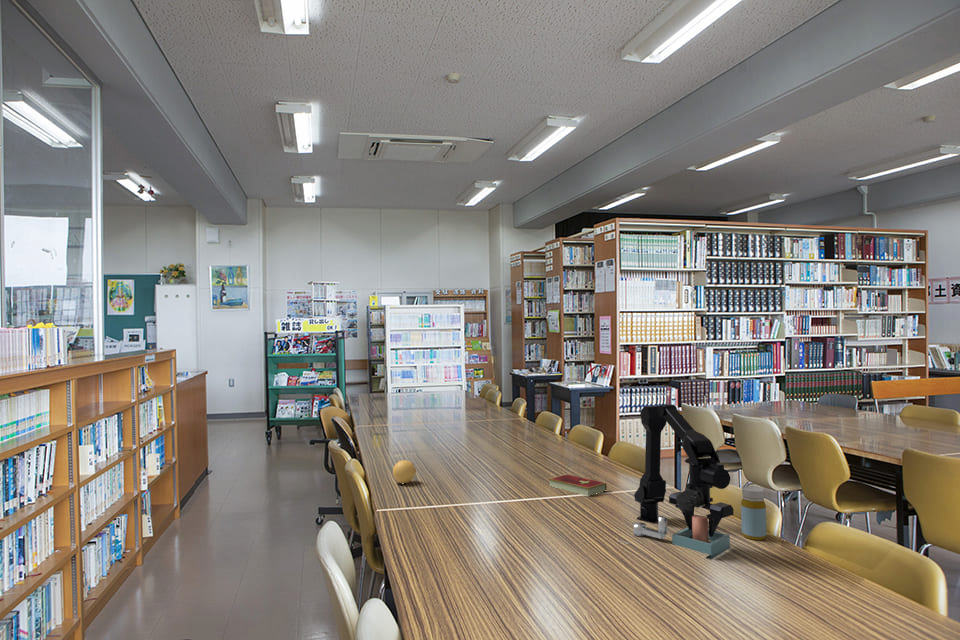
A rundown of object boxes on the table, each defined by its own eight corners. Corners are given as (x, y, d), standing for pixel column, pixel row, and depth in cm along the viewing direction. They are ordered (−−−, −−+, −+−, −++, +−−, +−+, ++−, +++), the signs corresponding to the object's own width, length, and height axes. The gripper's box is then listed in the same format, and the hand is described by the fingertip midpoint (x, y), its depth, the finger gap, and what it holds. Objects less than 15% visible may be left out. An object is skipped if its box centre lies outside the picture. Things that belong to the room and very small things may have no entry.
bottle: (752, 541, 176) (751, 492, 177) (736, 534, 183) (735, 487, 183) (771, 539, 178) (770, 490, 178) (755, 532, 185) (754, 485, 185)
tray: (691, 538, 180) (691, 525, 180) (729, 548, 171) (729, 534, 171) (672, 548, 172) (672, 534, 172) (711, 559, 163) (710, 545, 163)
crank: (630, 534, 180) (630, 511, 180) (637, 530, 183) (637, 508, 183) (663, 543, 172) (663, 519, 172) (670, 539, 174) (669, 516, 175)
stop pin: (697, 541, 175) (696, 514, 175) (711, 544, 171) (710, 517, 172) (690, 544, 172) (689, 517, 172) (704, 547, 168) (703, 520, 169)
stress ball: (403, 489, 245) (420, 472, 248) (388, 472, 246) (405, 455, 248) (402, 487, 255) (419, 471, 257) (387, 470, 255) (404, 454, 258)
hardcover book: (566, 483, 251) (566, 473, 251) (606, 492, 235) (606, 482, 235) (548, 488, 243) (548, 478, 243) (588, 498, 227) (588, 487, 227)
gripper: (656, 478, 176) (657, 529, 175) (710, 491, 160) (711, 548, 159) (680, 473, 182) (681, 522, 181) (734, 485, 166) (735, 540, 165)
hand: (700, 533), depth 172 cm, fingers open, 7 cm apart
